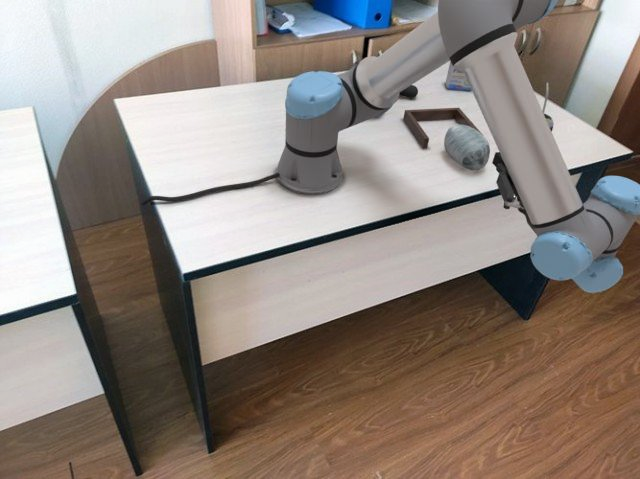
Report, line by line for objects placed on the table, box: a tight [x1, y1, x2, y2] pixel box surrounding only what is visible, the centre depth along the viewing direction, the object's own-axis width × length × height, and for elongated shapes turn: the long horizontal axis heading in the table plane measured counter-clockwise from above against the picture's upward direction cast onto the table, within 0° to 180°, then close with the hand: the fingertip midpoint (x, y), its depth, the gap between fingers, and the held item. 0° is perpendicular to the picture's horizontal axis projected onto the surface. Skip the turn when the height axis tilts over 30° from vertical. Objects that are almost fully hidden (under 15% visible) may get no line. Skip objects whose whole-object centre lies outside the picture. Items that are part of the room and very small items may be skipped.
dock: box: [402, 107, 484, 150], centre depth 139 cm, size 16×16×3 cm
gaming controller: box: [399, 84, 419, 99], centre depth 157 cm, size 17×6×10 cm
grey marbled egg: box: [443, 123, 491, 172], centre depth 127 cm, size 14×10×10 cm
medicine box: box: [444, 61, 472, 92], centre depth 159 cm, size 8×4×9 cm, turn 88°
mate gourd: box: [542, 82, 555, 133], centre depth 133 cm, size 8×8×15 cm
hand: (496, 157), depth 113 cm, fingers closed
